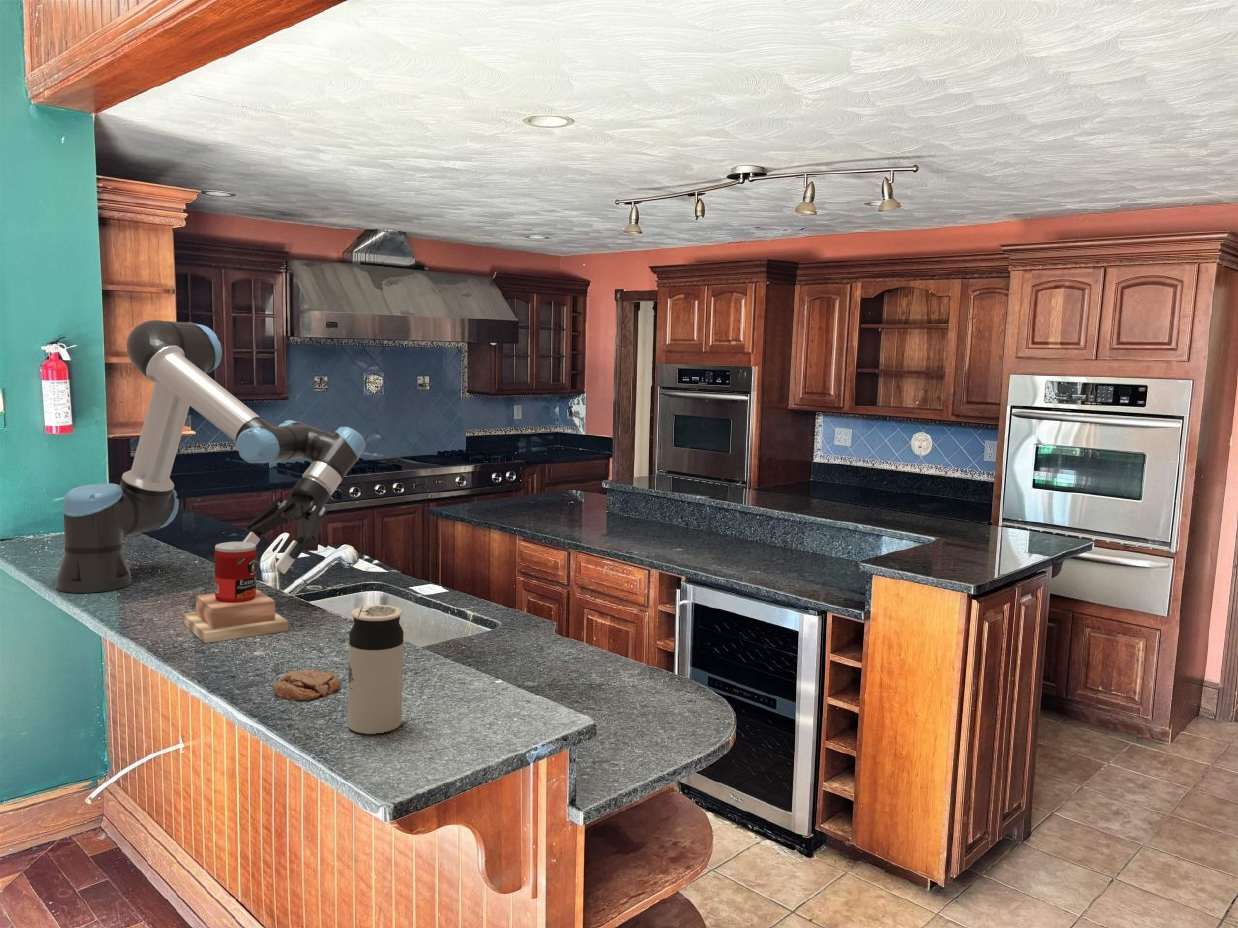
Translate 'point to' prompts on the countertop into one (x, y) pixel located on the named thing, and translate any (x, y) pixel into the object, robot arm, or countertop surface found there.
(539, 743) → the countertop surface
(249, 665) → the countertop surface
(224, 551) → the canned food
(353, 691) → the travel mug
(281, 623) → the stand
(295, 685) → the cookie
